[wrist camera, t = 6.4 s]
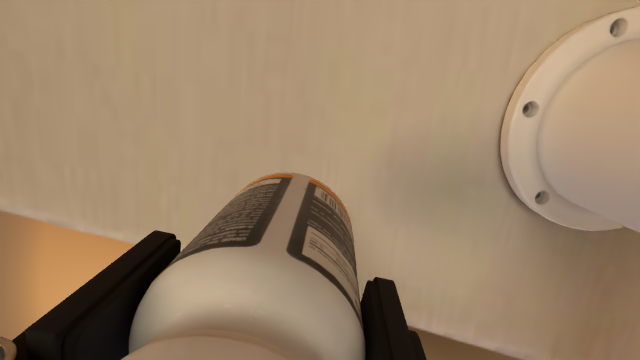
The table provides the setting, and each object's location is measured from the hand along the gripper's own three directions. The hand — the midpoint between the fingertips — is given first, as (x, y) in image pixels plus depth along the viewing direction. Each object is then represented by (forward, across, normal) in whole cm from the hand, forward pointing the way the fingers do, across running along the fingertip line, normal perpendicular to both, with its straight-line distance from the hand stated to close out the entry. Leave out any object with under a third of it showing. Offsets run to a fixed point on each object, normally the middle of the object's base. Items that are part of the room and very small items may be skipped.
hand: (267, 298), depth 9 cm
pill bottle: (+5, 0, 0) cm, 5 cm away
